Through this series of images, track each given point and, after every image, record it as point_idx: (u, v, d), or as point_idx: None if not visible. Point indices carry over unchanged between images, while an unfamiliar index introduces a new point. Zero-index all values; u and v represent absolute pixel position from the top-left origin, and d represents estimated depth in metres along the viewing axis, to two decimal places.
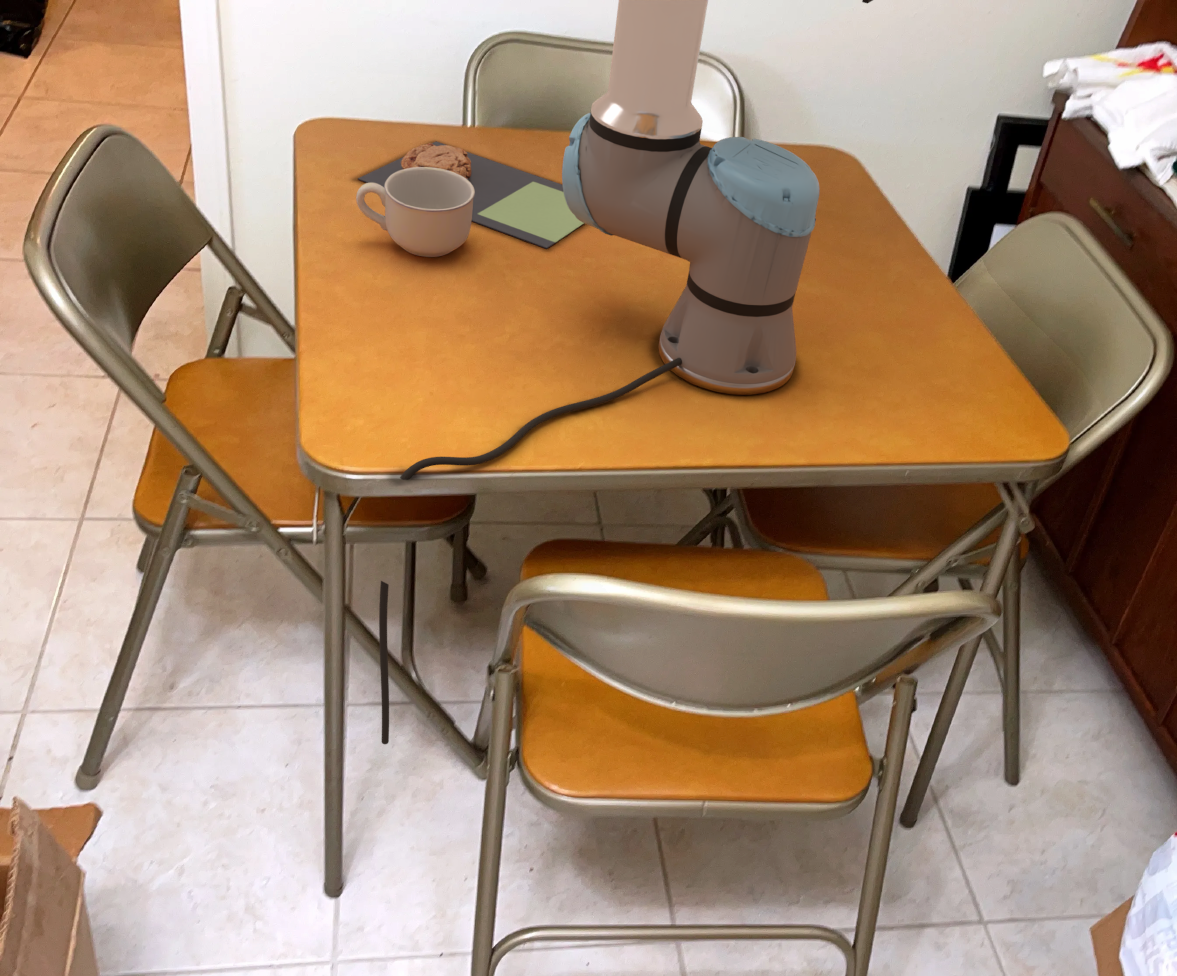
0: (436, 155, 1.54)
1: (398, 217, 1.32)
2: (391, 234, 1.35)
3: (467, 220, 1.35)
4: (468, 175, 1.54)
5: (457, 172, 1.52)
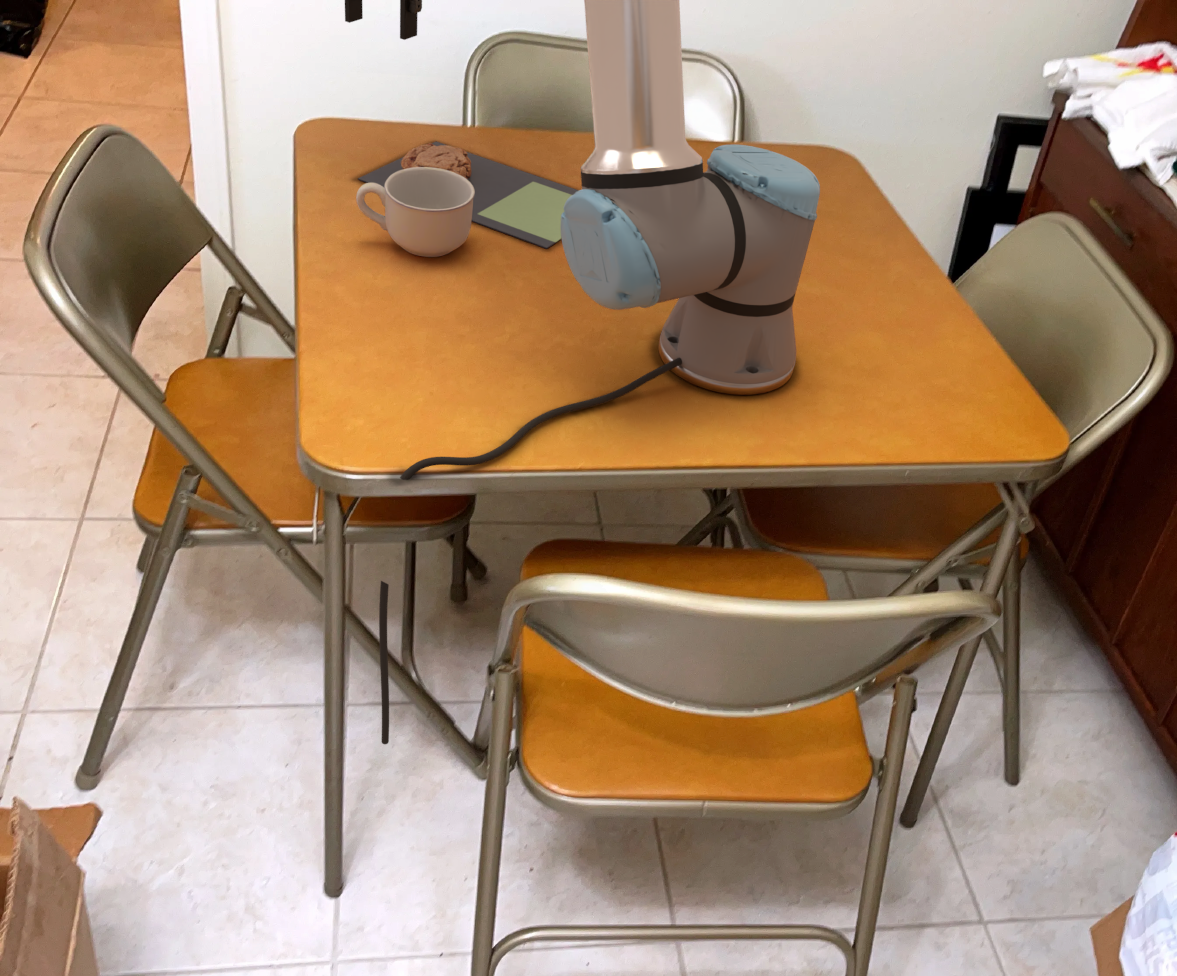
0: (436, 155, 1.54)
1: (398, 217, 1.32)
2: (391, 234, 1.35)
3: (467, 220, 1.35)
4: (468, 175, 1.54)
5: (457, 172, 1.52)
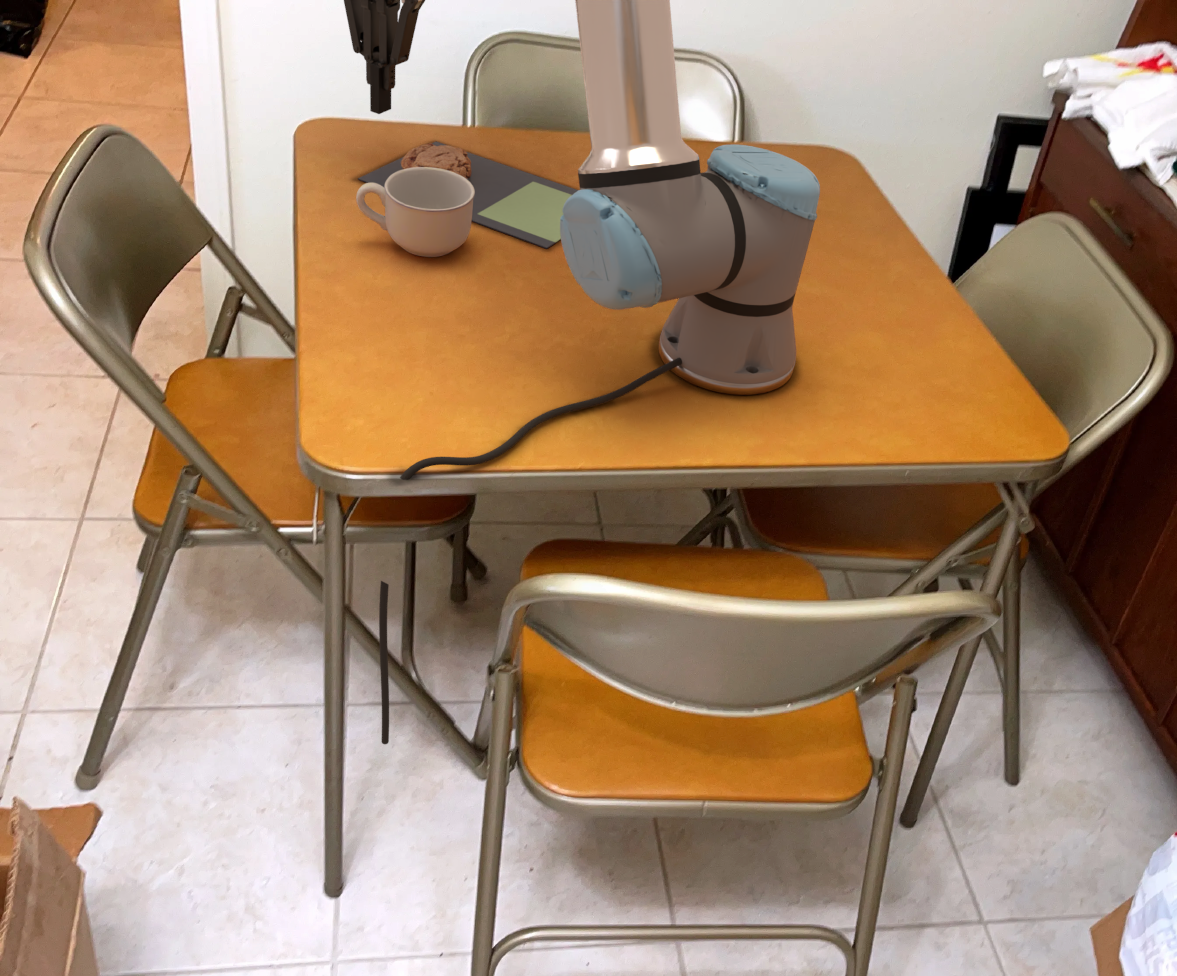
0: (436, 155, 1.54)
1: (398, 217, 1.32)
2: (391, 234, 1.35)
3: (467, 220, 1.35)
4: (468, 175, 1.54)
5: (457, 172, 1.52)
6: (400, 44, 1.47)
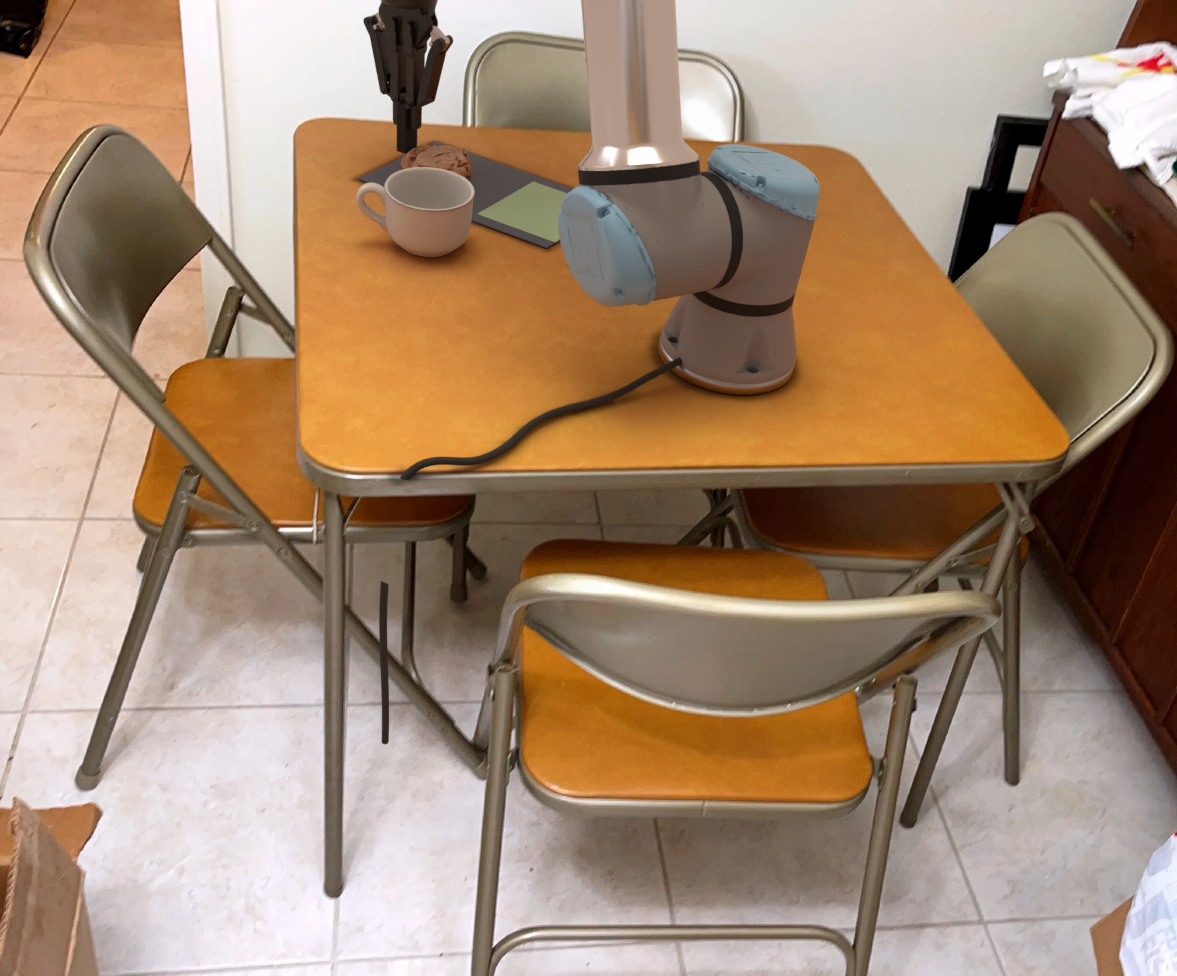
0: (436, 155, 1.54)
1: (398, 217, 1.32)
2: (391, 234, 1.35)
3: (467, 220, 1.35)
4: (468, 175, 1.54)
5: (457, 172, 1.52)
6: (427, 86, 1.48)
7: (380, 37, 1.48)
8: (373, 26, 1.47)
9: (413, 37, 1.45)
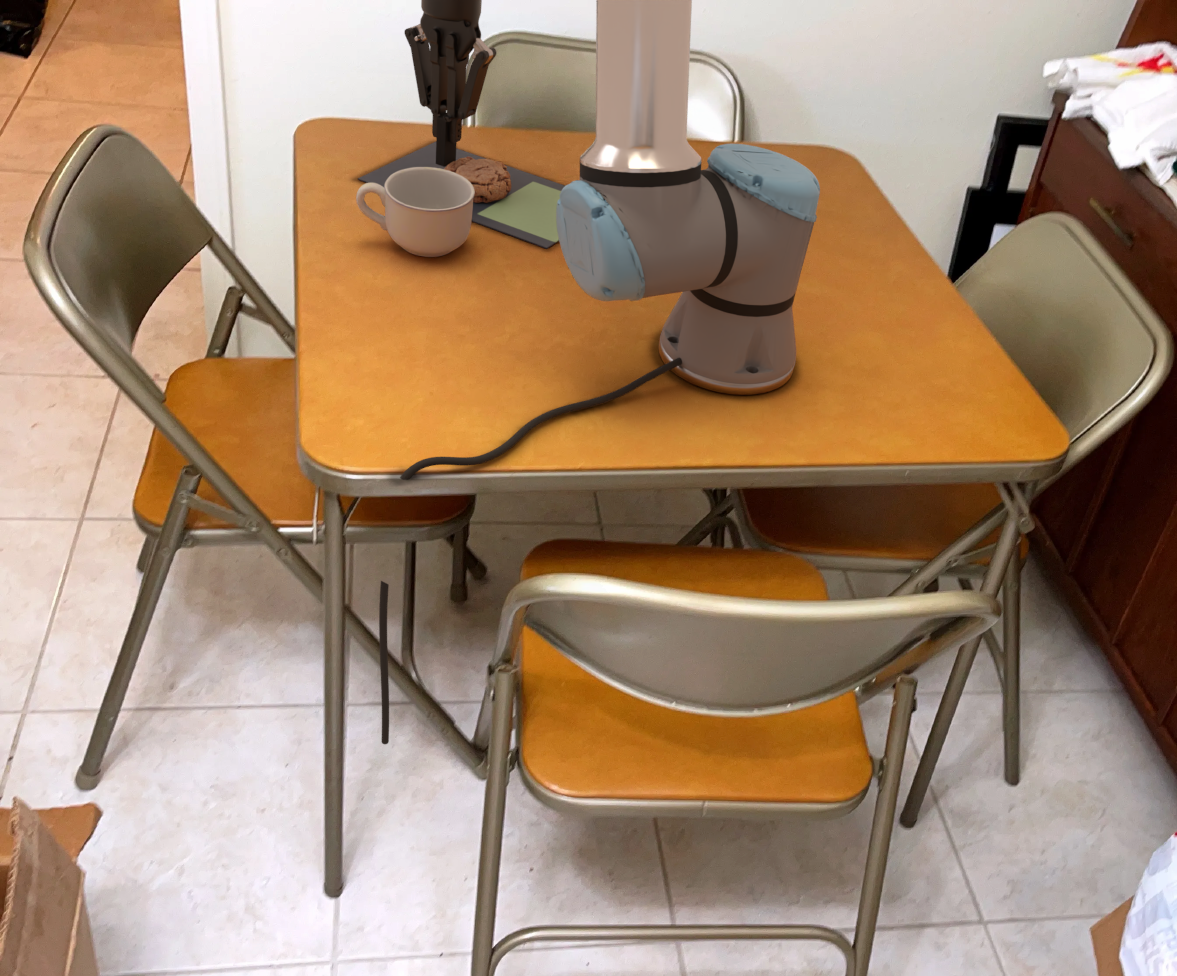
0: (476, 169, 1.51)
1: (398, 217, 1.32)
2: (391, 234, 1.35)
3: (467, 220, 1.35)
4: (508, 189, 1.51)
5: (497, 186, 1.49)
6: (469, 99, 1.46)
7: (421, 49, 1.46)
8: (414, 38, 1.45)
9: (456, 49, 1.43)
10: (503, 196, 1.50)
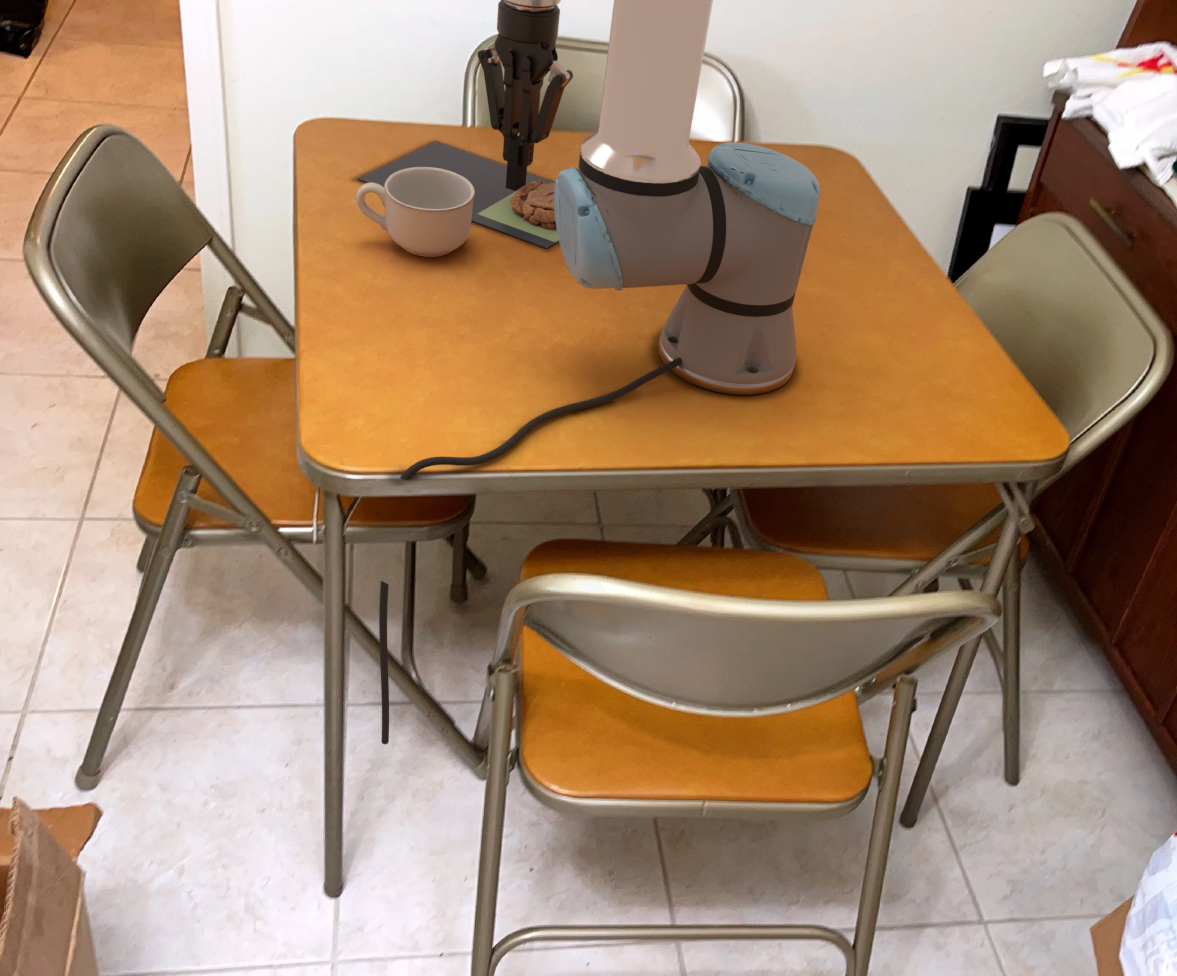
0: (548, 194, 1.48)
1: (398, 217, 1.32)
2: (391, 234, 1.35)
3: (467, 220, 1.35)
4: None
5: None
6: (543, 122, 1.42)
7: (494, 71, 1.42)
8: (488, 60, 1.41)
9: (532, 72, 1.39)
10: None
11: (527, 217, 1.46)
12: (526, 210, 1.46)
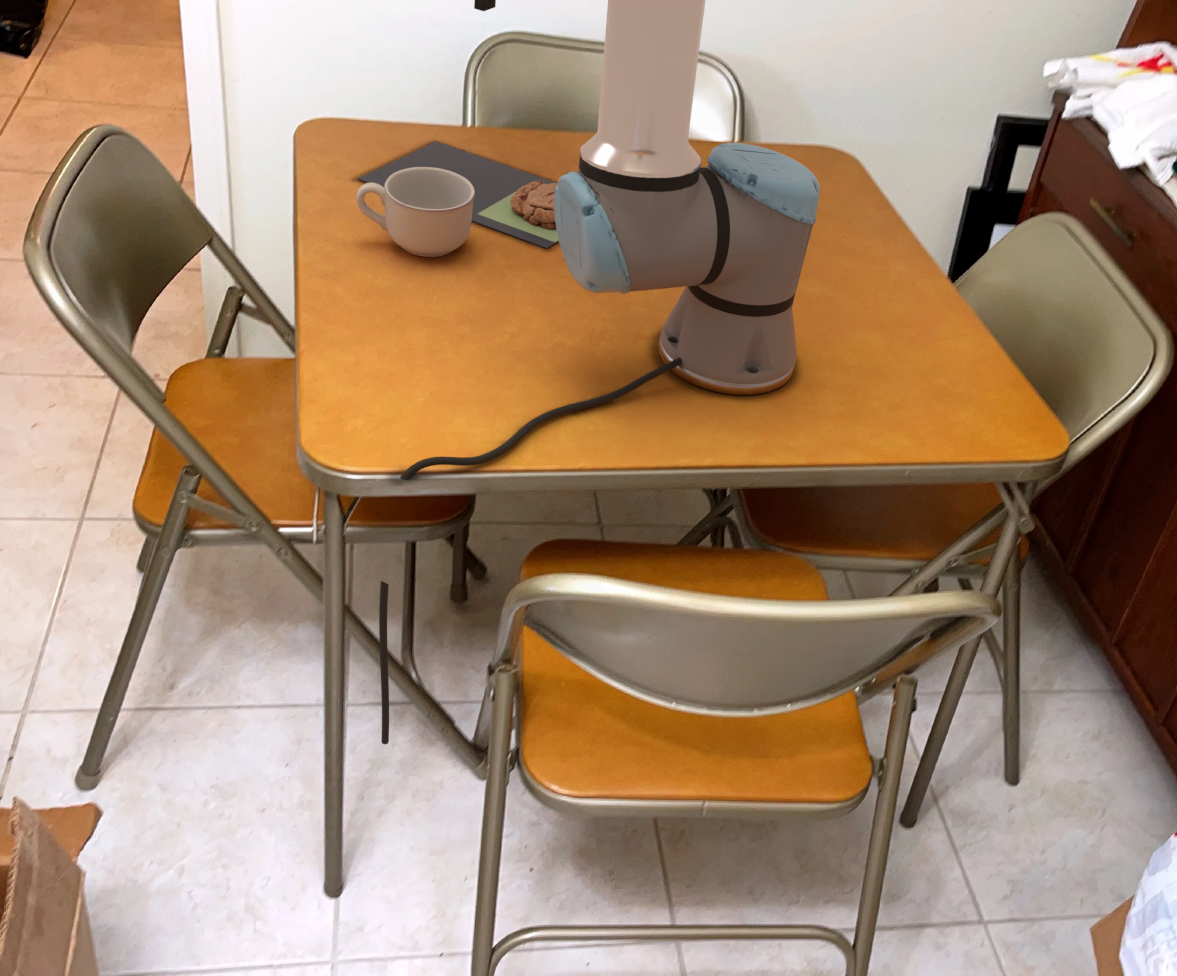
0: (547, 194, 1.48)
1: (398, 217, 1.32)
2: (391, 234, 1.35)
3: (467, 220, 1.35)
4: None
5: None
6: None
7: None
8: None
9: None
10: None
11: (527, 217, 1.46)
12: (526, 210, 1.46)
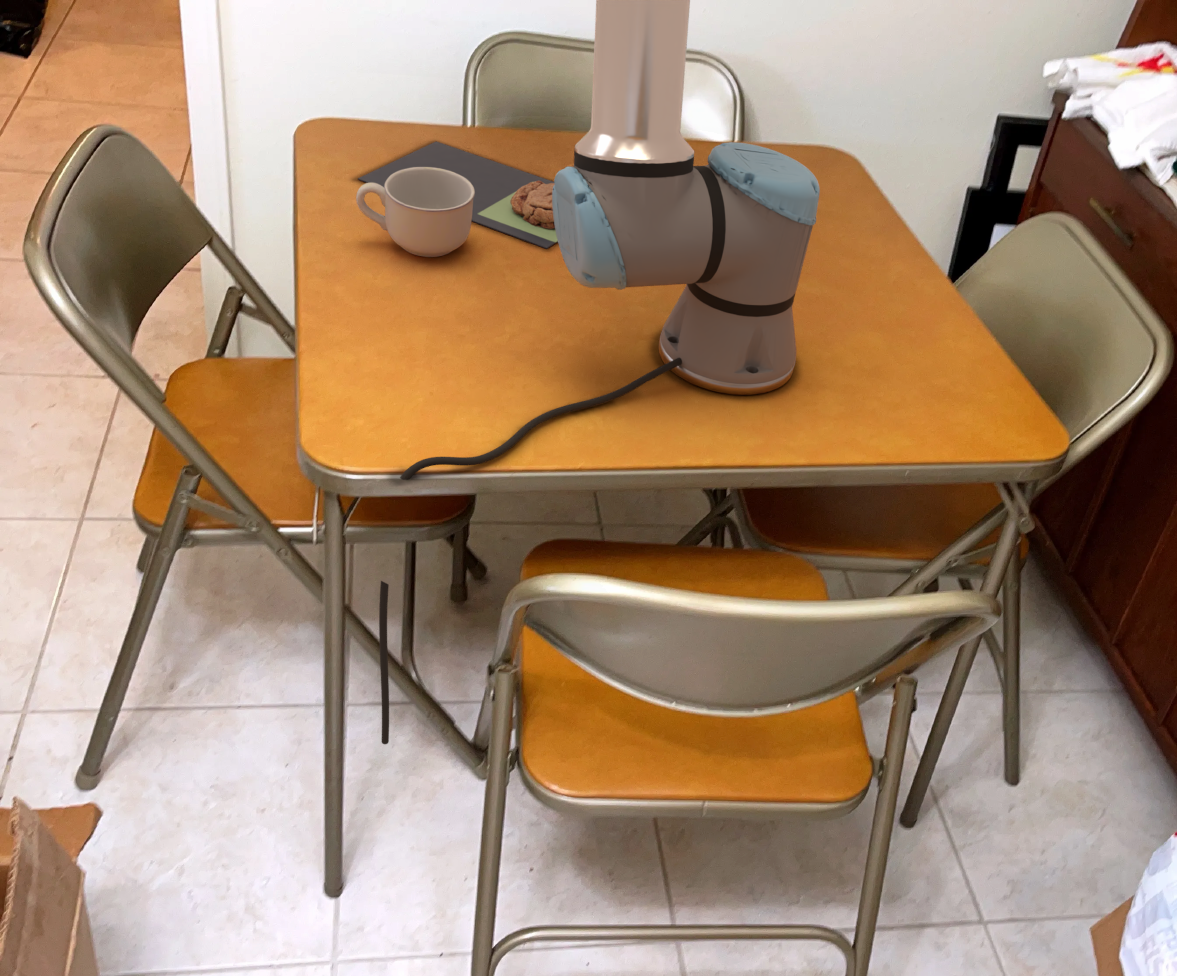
0: (547, 194, 1.48)
1: (398, 217, 1.32)
2: (391, 234, 1.35)
3: (467, 220, 1.35)
4: None
5: None
6: None
7: None
8: None
9: None
10: None
11: (527, 217, 1.46)
12: (526, 211, 1.46)
